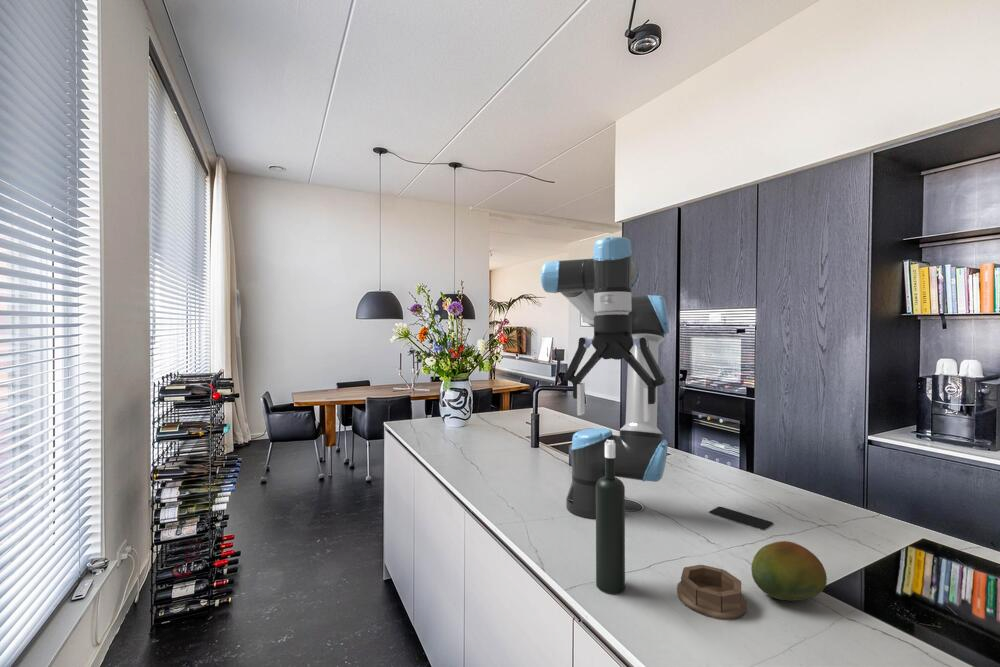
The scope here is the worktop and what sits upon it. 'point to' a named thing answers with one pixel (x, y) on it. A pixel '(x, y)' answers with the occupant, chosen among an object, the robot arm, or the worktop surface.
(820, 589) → the fruit
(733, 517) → the smartphone
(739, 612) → the bowl
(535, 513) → the worktop surface
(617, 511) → the wine bottle
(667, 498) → the worktop surface
